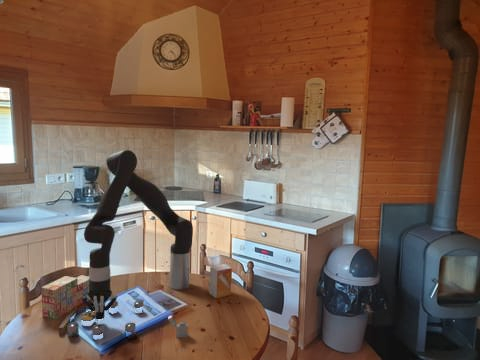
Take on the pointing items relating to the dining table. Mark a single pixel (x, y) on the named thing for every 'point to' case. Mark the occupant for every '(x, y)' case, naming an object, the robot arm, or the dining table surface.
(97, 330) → the spacers
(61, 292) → the stack of blocks
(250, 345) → the dining table surface
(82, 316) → the gold short domed cylinder
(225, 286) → the small box
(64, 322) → the bar
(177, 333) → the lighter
